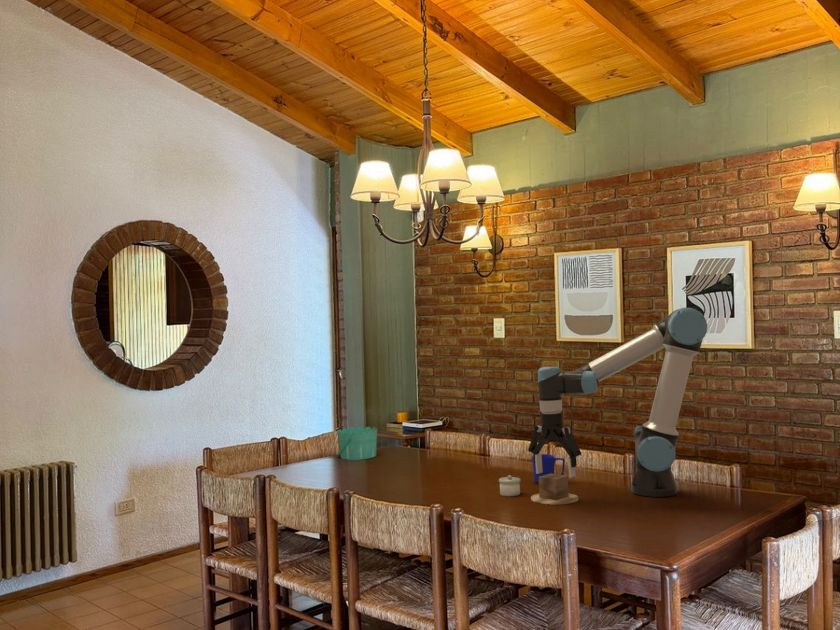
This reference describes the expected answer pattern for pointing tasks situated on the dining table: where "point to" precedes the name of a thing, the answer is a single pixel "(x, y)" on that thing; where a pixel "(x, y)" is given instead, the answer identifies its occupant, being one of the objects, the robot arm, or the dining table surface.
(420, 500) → the dining table surface
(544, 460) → the mug
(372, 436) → the basket
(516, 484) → the sugar bowl
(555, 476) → the block
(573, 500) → the trivet
